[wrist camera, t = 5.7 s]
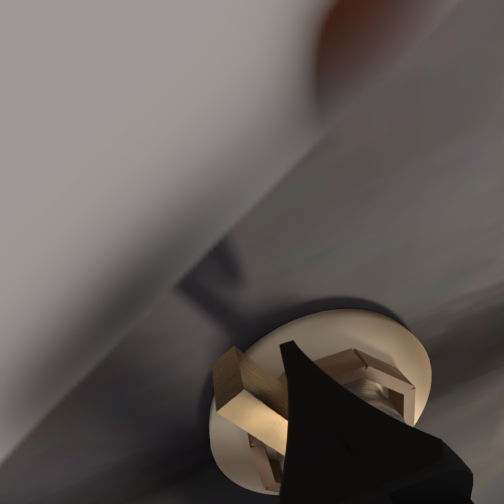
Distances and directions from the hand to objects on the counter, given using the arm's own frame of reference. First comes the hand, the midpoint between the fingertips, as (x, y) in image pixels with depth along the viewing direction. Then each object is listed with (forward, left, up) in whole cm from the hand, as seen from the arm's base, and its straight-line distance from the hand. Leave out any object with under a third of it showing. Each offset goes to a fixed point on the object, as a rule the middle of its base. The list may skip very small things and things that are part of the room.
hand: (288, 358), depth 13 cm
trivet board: (-5, -8, -3) cm, 10 cm away
